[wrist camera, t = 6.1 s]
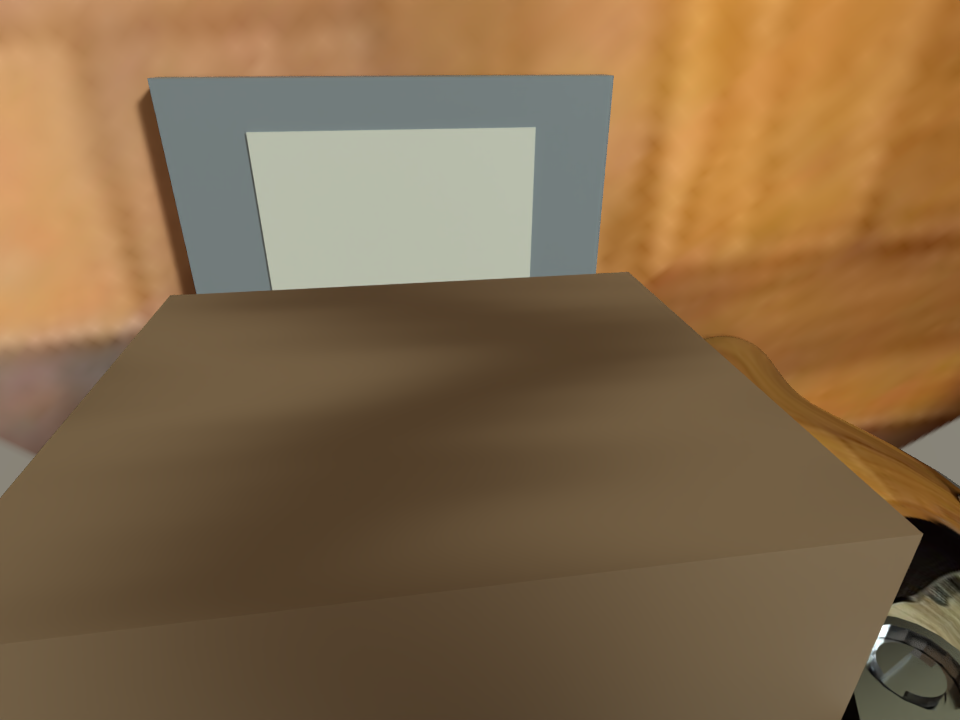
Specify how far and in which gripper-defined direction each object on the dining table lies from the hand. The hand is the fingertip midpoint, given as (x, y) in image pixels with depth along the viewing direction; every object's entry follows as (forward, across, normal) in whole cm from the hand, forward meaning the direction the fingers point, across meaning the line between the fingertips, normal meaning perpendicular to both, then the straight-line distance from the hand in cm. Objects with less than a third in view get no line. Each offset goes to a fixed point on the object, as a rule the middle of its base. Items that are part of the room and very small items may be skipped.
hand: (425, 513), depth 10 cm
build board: (+14, 0, 0) cm, 14 cm away
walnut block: (+1, 0, 0) cm, 1 cm away
